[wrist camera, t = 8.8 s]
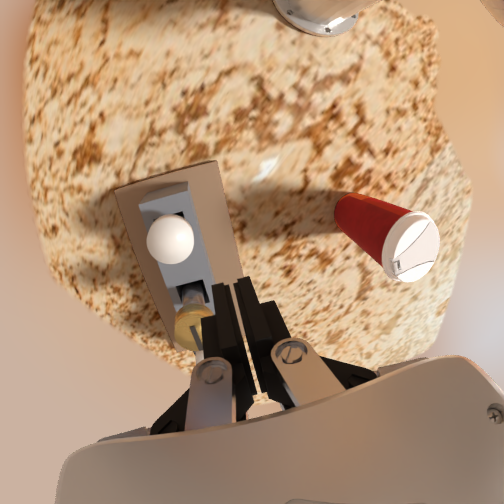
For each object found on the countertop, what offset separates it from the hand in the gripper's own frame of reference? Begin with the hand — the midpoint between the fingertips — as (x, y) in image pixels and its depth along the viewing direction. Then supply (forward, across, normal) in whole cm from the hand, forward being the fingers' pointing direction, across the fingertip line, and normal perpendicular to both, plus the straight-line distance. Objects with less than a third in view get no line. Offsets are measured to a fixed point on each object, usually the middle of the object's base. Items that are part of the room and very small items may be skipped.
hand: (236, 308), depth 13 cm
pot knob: (+20, +4, +10) cm, 23 cm away
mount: (+25, +4, +10) cm, 27 cm away
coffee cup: (+26, -19, +8) cm, 33 cm away
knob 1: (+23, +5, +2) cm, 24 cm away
